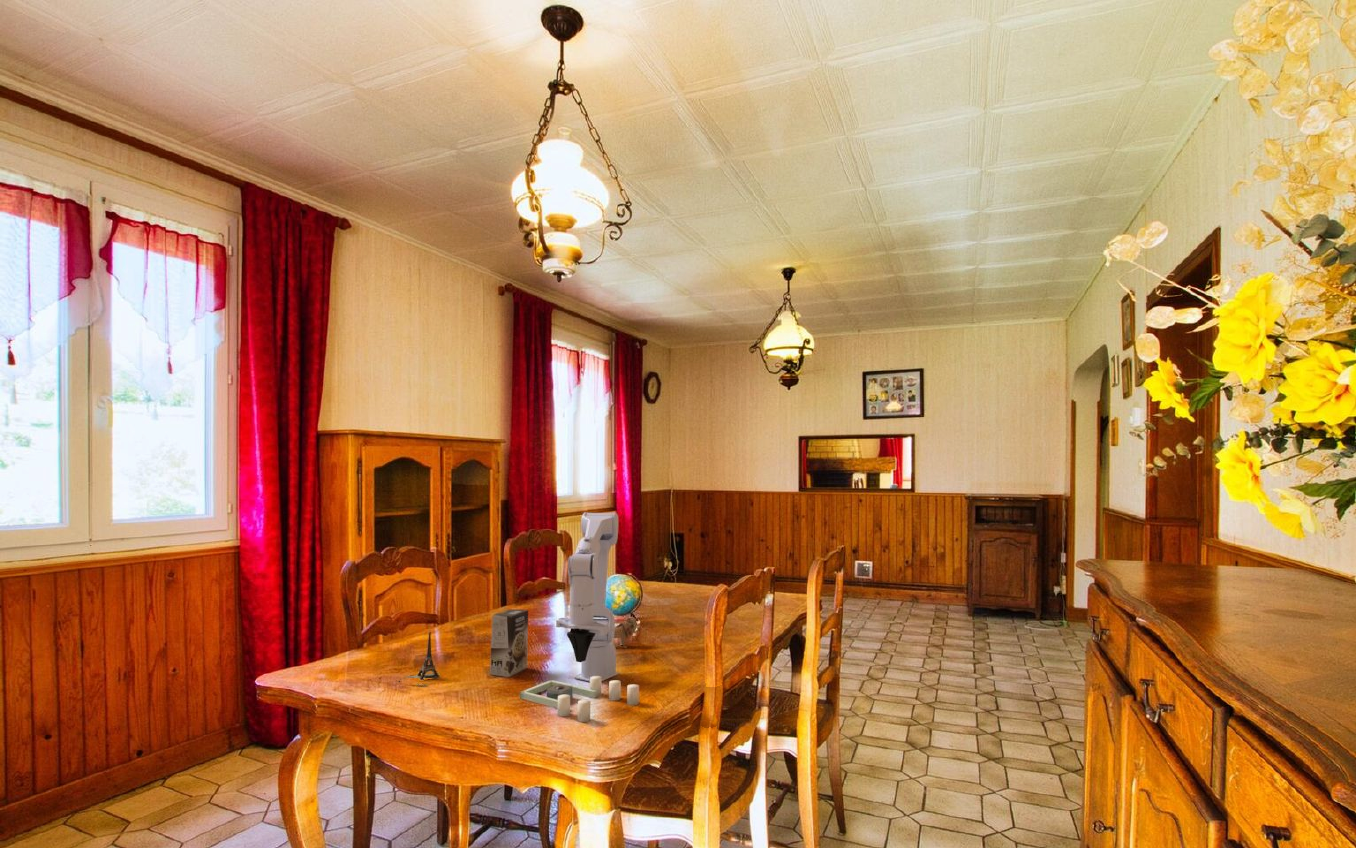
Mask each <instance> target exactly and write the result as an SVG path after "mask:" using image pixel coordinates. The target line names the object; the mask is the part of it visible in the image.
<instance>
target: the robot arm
mask: <svg viewBox="0 0 1356 848" xmlns="http://www.w3.org/2000/svg"><path fill="white" fill-rule="evenodd" d="M580 519H581V520H580V530H581V534H582V538H581V539H580V540H579V541H578V543H577V547H576V548H575V552H574V553H573V554H572V555H570V556H569V557H568V560H567V574H568V575H567V576H568V585H569V586H570V587H569V589H570V590H569V617H567V618H566V617H559V618H556V622H555V625H556V628H565V629H570V630H569V631H568V632H567V633H566V637H567V638H568V639H569V641H570V644H571V646H572V650H573V653H574V657H575V662H577V663H581V669H580V670H581V672H580V673H578V674H576V675H574V676H573V678H574V679H577V680H581V681H585V682H589V683H590V677H592V676H600V677H601V682H603V681H606V680H608V679H610V678H613V677H615V676H617V675H619V672H617V671H616V670H617V669H616V668H617V649H616V646H615V644H614V642H613V641H614V639H615V638H614V631H615V627H616V626H615V625H616V624H615V615H614V613H613V611H612V610H610V609H609V608H608V607H607V606H606V599H607V598H606V597H607V585H608V584H607V582H608V571H609V570H608V567H609V554H610V550H611V547H612V546H614V545H616V544H617V542H618V539H619V537H618V536H619V535H618V534H619V515H618V514H617V512H612V513H611V512H610V513H609V512H586V511H584V513H583V514H582V516H581V518H580Z"/></svg>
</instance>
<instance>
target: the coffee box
mask: <svg viewBox="0 0 1356 848" xmlns="http://www.w3.org/2000/svg"><path fill="white" fill-rule="evenodd" d="M491 616H492V617H491V637H490V639H491V640H490V662H489V663H490V665H489V674H490V676H491V675H493V676H498V677H503V678H505V677H506V678H510V677H512V676H514V675H516V674H518V673H520V672H522V671H524V670H525V669H527V668H528V641H529V640H528V639H529V638H528V635H529V634H528V633H529V632H528V631H529V610H528V609H517V608H516V609H511V608H509V609H506V610H504V611H500V612H497V613H494V614H492V615H491Z"/></svg>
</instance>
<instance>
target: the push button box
mask: <svg viewBox="0 0 1356 848" xmlns="http://www.w3.org/2000/svg"><path fill="white" fill-rule="evenodd" d="M563 694H566V695H570V700H572V699H573V694H574V693H573V686H568V685H562V684H556V685H554V686H552V687H550V688H548V689H547V690H546V697H548V698H552V699H556V700H558V696H559V695H563Z"/></svg>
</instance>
